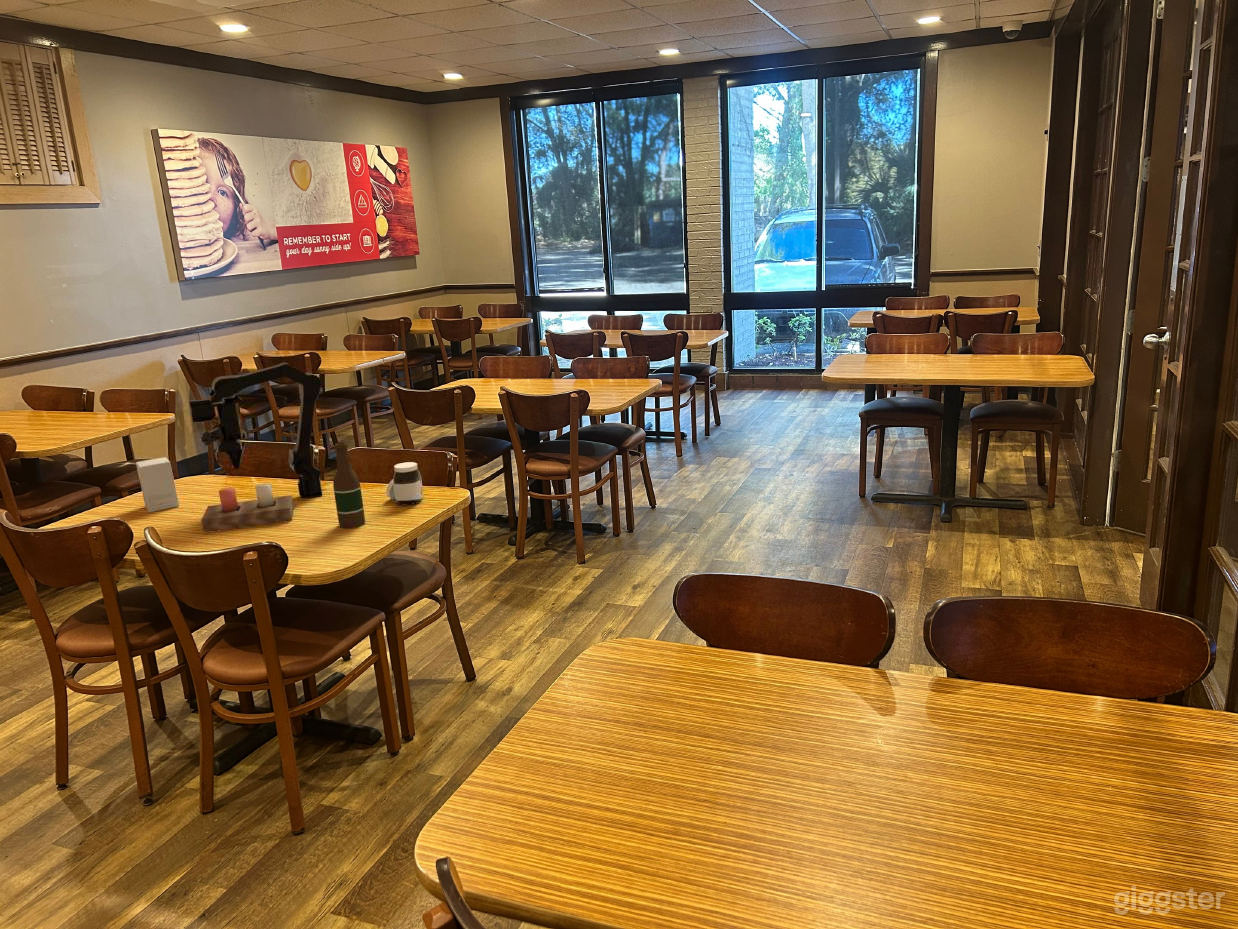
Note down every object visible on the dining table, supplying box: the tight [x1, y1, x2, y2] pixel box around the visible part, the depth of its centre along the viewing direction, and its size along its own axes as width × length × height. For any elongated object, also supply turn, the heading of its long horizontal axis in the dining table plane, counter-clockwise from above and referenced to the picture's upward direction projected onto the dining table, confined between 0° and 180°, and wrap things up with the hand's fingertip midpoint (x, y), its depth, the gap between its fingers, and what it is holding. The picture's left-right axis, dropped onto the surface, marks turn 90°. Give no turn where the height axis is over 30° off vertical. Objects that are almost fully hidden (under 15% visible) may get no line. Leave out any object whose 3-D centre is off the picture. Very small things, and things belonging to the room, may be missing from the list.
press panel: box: [200, 494, 295, 533], centre depth 264 cm, size 24×14×4 cm, turn 107°
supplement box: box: [135, 457, 180, 513], centre depth 281 cm, size 9×9×15 cm
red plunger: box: [218, 487, 238, 512], centre depth 261 cm, size 4×4×6 cm
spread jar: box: [385, 461, 424, 505], centre depth 273 cm, size 12×11×12 cm
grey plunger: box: [254, 482, 274, 507], centre depth 264 cm, size 4×4×6 cm
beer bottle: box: [332, 441, 366, 529], centre depth 251 cm, size 8×8×24 cm
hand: (237, 467), depth 273 cm, fingers open, 3 cm apart
